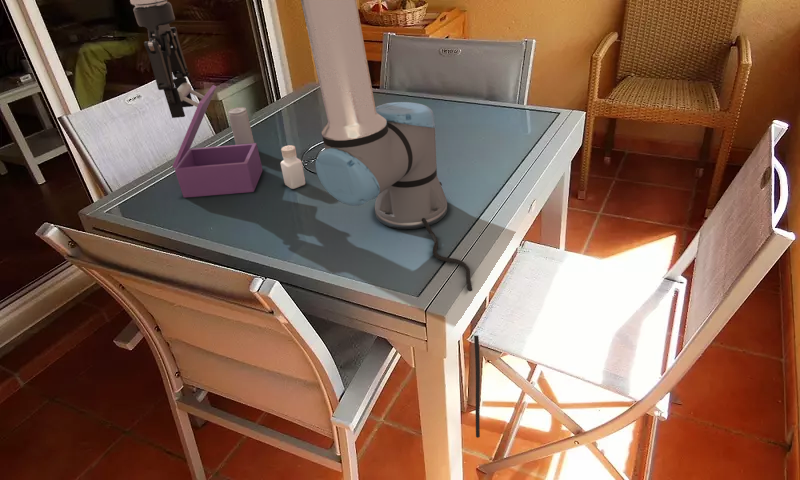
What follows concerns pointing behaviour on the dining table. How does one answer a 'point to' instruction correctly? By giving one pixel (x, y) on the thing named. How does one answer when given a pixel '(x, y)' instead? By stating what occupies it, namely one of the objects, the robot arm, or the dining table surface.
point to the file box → (219, 170)
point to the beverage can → (240, 125)
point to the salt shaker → (292, 168)
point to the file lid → (197, 118)
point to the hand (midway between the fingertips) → (183, 111)
